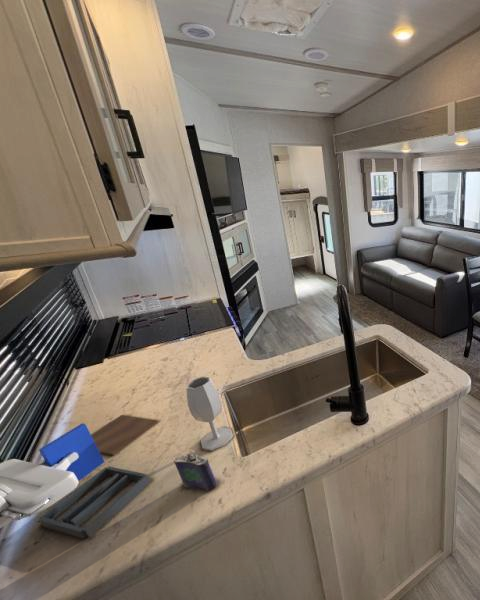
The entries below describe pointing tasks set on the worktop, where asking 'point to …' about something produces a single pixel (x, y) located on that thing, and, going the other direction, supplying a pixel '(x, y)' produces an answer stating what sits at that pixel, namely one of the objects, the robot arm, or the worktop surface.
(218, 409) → the wineglass
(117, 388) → the worktop surface
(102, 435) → the board
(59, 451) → the lid
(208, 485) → the flask
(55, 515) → the rack
